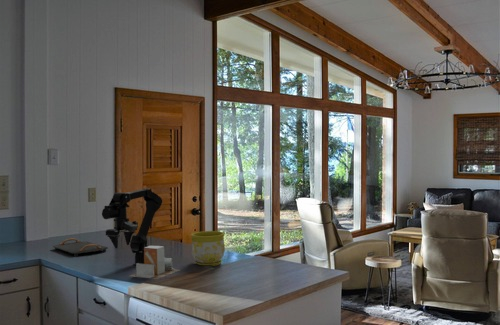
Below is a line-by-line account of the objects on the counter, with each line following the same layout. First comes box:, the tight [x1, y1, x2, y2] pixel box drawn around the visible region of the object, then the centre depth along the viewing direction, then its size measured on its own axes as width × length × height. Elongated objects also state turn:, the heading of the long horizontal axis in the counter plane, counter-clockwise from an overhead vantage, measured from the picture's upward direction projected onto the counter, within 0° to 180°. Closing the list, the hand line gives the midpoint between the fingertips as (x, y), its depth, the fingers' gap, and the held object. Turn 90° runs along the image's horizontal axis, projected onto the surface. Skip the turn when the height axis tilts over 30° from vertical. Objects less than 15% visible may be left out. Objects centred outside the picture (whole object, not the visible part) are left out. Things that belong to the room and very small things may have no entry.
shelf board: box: [129, 268, 181, 280], centre depth 262 cm, size 20×17×1 cm
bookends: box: [133, 257, 176, 279], centre depth 262 cm, size 20×10×6 cm, turn 152°
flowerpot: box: [190, 230, 226, 267], centre depth 282 cm, size 18×18×16 cm
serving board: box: [52, 238, 109, 257], centre depth 331 cm, size 39×23×6 cm, turn 41°
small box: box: [144, 245, 165, 275], centre depth 262 cm, size 8×6×13 cm
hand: (122, 246), depth 275 cm, fingers open, 9 cm apart
